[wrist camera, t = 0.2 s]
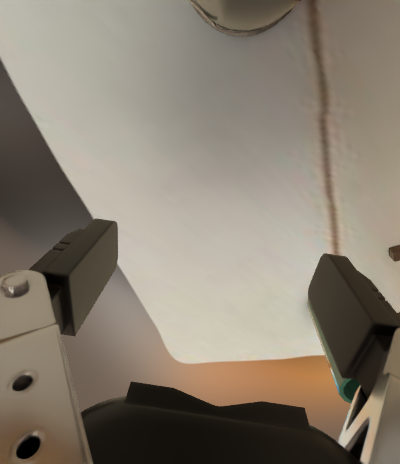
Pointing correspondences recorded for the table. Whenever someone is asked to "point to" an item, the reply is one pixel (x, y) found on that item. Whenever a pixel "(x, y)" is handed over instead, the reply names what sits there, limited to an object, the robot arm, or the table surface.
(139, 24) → the table surface
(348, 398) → the tumbler
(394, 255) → the bay
